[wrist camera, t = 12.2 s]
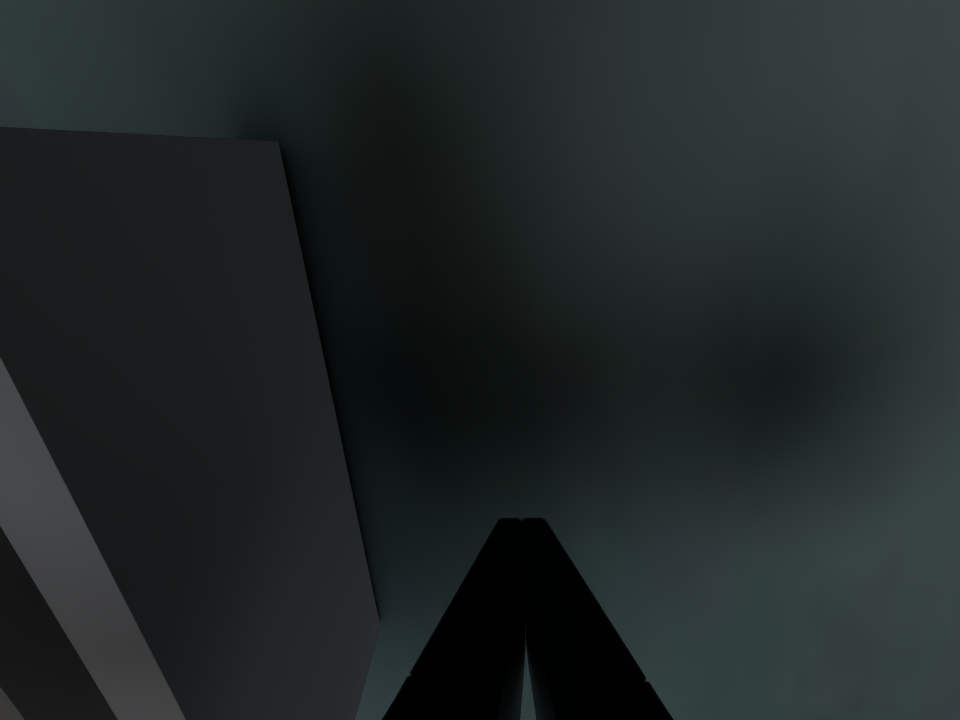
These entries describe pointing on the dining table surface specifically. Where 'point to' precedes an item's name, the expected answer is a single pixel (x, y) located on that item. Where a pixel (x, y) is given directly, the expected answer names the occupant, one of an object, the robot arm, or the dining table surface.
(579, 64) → the dining table surface
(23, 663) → the dice cube
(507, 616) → the robot arm
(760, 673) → the dining table surface
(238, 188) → the tray
